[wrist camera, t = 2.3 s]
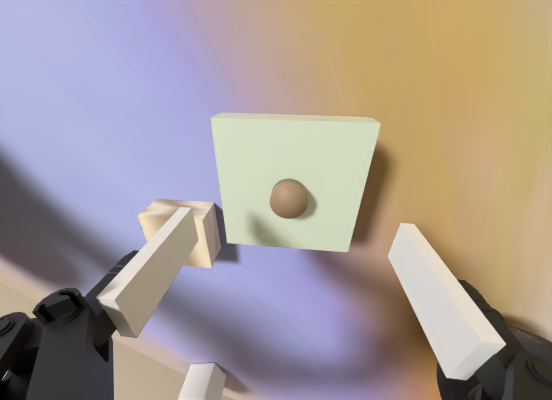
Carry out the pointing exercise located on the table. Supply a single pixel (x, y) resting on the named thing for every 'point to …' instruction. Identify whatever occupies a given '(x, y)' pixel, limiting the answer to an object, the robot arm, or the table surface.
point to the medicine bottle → (203, 382)
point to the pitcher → (457, 389)
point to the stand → (204, 222)
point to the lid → (292, 177)
